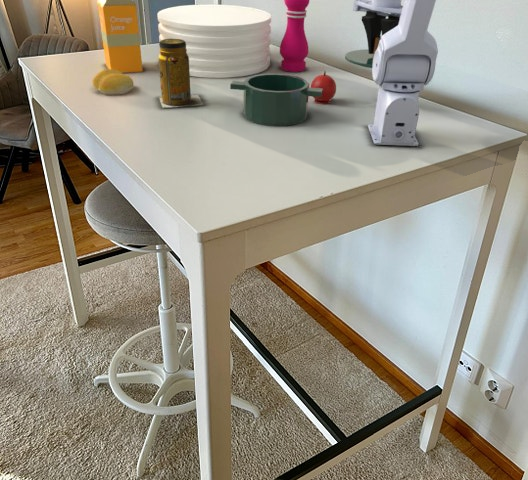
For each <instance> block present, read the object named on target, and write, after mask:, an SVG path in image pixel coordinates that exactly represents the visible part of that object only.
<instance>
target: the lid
mask: <svg viewBox="0 0 528 480" xmlns="http://www.w3.org/2000/svg"><path fill="white" fill-rule="evenodd" d="M381 36H382V35H380V36H376V37H375V42H374V49H373V54H369V50H368V49H367V48H366V49H356V50H351V51H348V52H346V53H345V55H344V59H345V61H347V62H348V63H350V64H353V65H356V66H360V67H363V68H368V69H372V66H373V58H374V54H375V51H376V50H377V48H378V45H379V41H380V40H381Z"/></svg>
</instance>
